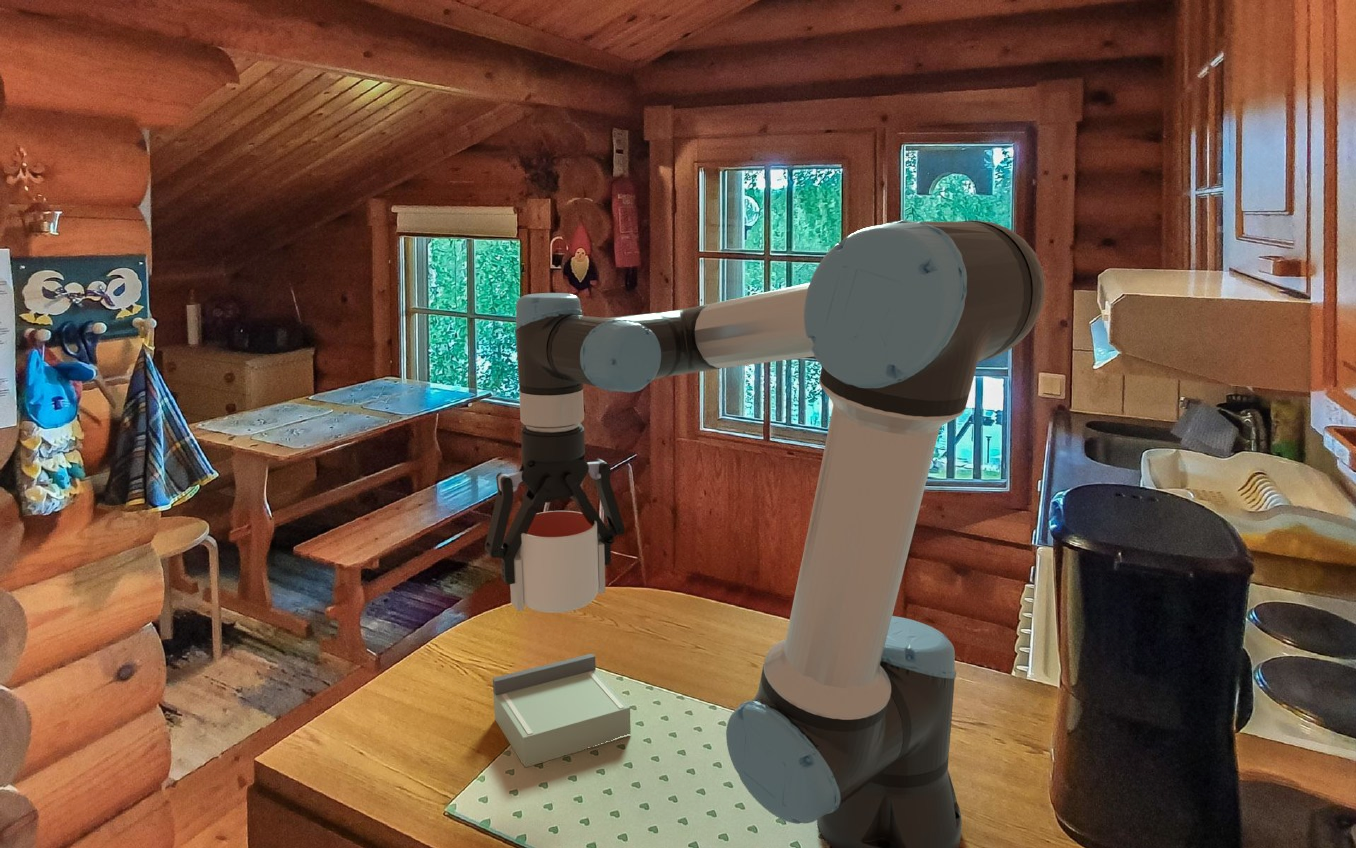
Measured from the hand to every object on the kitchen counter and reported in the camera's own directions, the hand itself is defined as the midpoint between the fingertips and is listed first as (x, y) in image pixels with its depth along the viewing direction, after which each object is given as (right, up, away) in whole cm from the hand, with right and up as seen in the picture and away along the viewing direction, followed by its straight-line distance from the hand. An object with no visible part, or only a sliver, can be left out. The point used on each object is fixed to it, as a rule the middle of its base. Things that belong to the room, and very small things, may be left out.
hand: (558, 597), depth 113 cm
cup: (0, 0, 0) cm, 0 cm away
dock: (0, -18, +4) cm, 18 cm away
